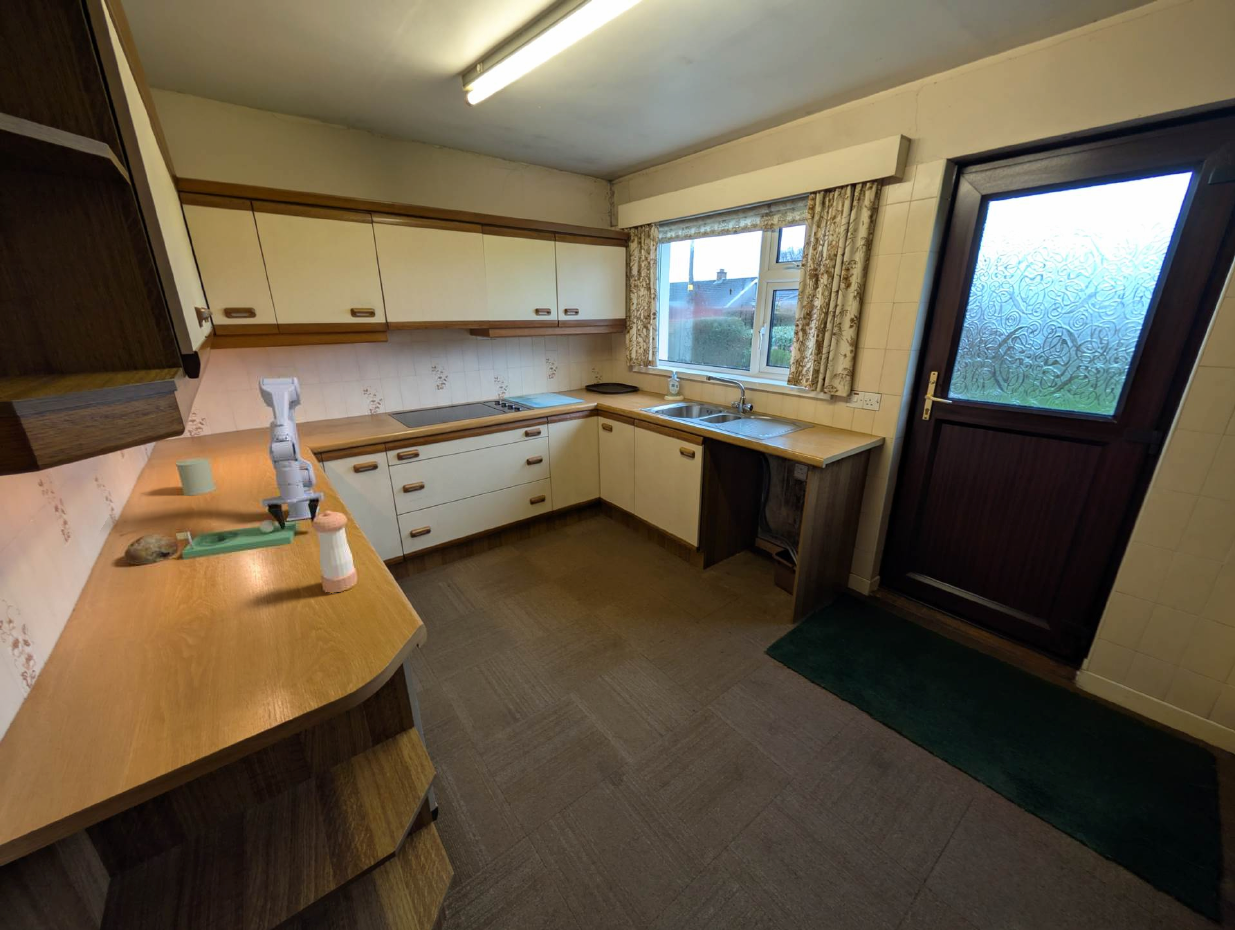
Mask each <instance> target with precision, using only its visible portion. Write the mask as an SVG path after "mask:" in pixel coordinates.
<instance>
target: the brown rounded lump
mask: <svg viewBox="0 0 1235 930" xmlns="http://www.w3.org/2000/svg"><path fill="white" fill-rule="evenodd" d="M178 550H179V547H178V543H177V542H176V541H175V540H174V539H173V538H171V537H169V536H165V535H164V534H156V533H155V534H146V535H142V536H140V537H138V538H136V539H134V541H132V542H131V543H130V544H128V546H127V548H126V549H125V550H124V553H123V554H124V558H125V560H126V562H127V563H129V564H131V565H133V566H134V565H135V566H136V565H138V566H139V565H142V566H143V565H149V564H154V563H160V562H162V561H164V560H167V559H169V558H170V557H172V556H174V555H175V554H177V553H178V552H179V551H178Z"/></svg>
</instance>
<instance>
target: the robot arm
mask: <svg viewBox="0 0 1235 930" xmlns="http://www.w3.org/2000/svg"><path fill="white" fill-rule="evenodd" d="M300 388H301V387H300V383H299V379H298V378H297V377H296V376H293V377H281V378H280V377H279V378H277V377H275V378H262V377H261V378H259V380H258V390H259V394H260V397H261V398H262V400H263V402H264V403H265V405H266V407H268V408H271V410H272V414H273V418H274V419H273V420H272V421H271V422H270V424H269V433H270V434H269V435H270V444H268V454H269V455H268V456H269V458H270V461H271V463H272V467H273V470H275V480H276V485H277V489H278V490H279V494H280V496H278V495H277V496H273V497H269V498H268V497H267V498H263V499H262V501H261V502H262V506H263V508H267V511H268V513H269V514H270V515H271V516H272V517H273V518H274V519H275V521H276V522H277V524H279V525H280V527H281V529H284V528H285V523H286V522H294V521H299V520H308V519H310V522H311V523H312V522H313V520H314V518H315V517H317V516H318V513H319V511H320V506H319V503H320V501H321V502H322V501H324V493H323V492H322V491H321V492H314V490H313V489H312V488H313V487H315V486H316V477H315V471H314V468H313V467H314V466H313V464H312V463H311V462H310V461H308V460H305V459H304V458H302V456H301V450H300V442H299V437H298V436H299V435H298V430H297V424H296V418H295V413H296V412H295V411H296V407H298V406H300V405H301V404H302V403H301V402H302V396H301V390H300ZM282 505H287V509H288V516H287V518H286V522H285V518H284V513H283V507H282Z"/></svg>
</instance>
